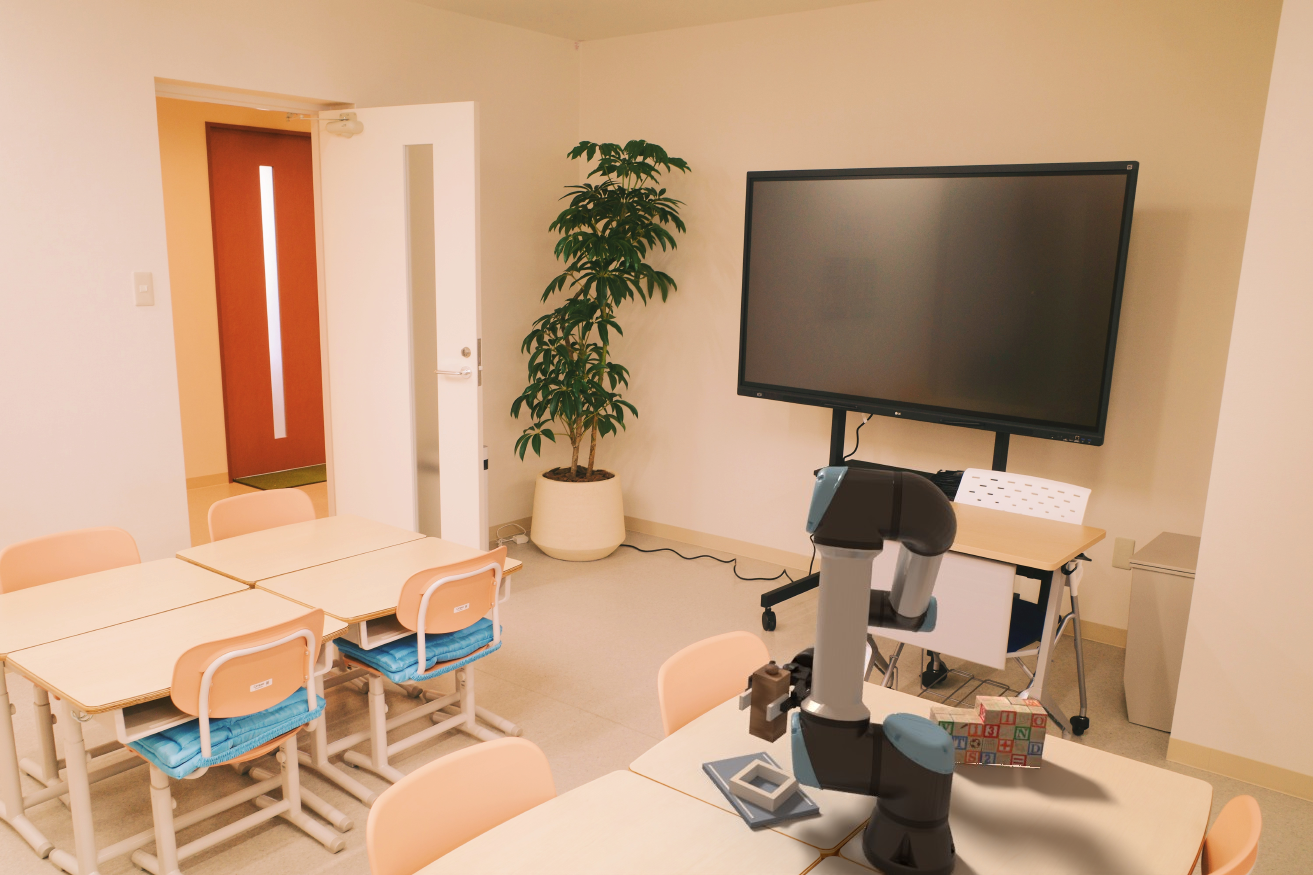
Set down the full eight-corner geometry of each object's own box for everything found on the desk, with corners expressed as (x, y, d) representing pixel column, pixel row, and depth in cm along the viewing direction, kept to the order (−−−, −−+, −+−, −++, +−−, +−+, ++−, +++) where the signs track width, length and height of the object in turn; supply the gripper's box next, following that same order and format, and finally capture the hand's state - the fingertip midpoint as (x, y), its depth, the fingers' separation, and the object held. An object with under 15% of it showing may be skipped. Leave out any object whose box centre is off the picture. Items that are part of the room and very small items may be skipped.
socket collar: (798, 789, 165) (799, 776, 165) (772, 811, 158) (773, 799, 158) (755, 770, 171) (756, 758, 171) (728, 791, 164) (729, 779, 163)
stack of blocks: (933, 762, 178) (939, 706, 176) (925, 746, 185) (931, 691, 182) (1041, 769, 177) (1048, 713, 175) (1030, 753, 184) (1037, 698, 181)
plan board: (818, 812, 160) (819, 806, 160) (750, 827, 155) (750, 822, 155) (765, 755, 178) (765, 750, 178) (702, 768, 173) (702, 762, 173)
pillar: (786, 732, 163) (791, 666, 161) (772, 743, 159) (777, 675, 157) (763, 723, 166) (767, 658, 164) (748, 733, 162) (753, 667, 160)
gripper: (857, 697, 171) (798, 745, 152) (775, 669, 181) (711, 710, 163) (860, 661, 169) (801, 705, 151) (778, 634, 180) (713, 673, 162)
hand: (754, 708), depth 157 cm, fingers closed on pillar, 5 cm apart
